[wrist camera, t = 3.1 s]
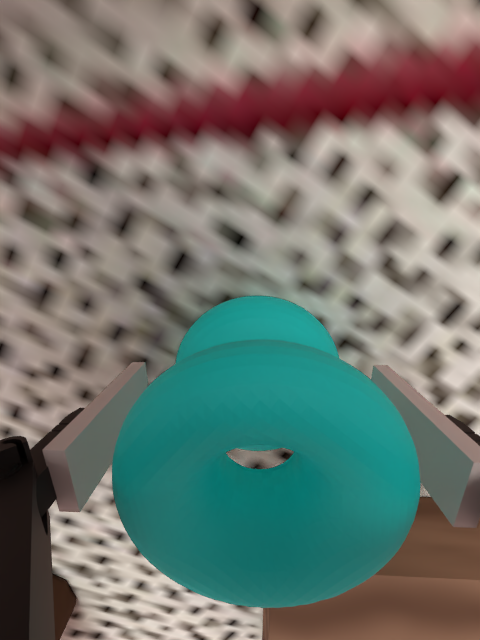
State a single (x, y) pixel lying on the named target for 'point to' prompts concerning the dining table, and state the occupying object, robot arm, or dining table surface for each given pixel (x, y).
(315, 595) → the donuts
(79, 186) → the dining table surface
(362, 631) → the walnut stand
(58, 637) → the beer bottle
